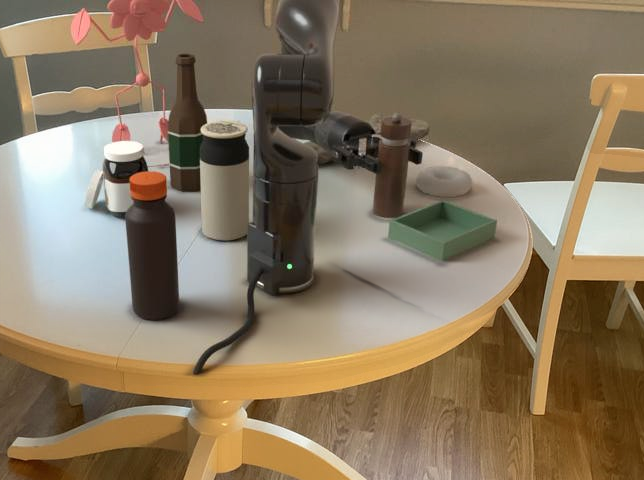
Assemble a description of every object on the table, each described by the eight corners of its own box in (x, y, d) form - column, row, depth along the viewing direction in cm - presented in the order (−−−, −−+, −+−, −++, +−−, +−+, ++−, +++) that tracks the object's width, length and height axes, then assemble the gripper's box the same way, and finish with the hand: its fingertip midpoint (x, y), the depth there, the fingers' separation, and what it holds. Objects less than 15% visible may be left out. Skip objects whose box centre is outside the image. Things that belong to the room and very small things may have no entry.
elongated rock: (275, 164, 173) (303, 182, 166) (275, 140, 170) (304, 157, 163) (408, 125, 186) (439, 140, 179) (410, 101, 183) (442, 116, 176)
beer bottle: (216, 188, 160) (214, 57, 146) (177, 195, 157) (171, 63, 144) (201, 174, 166) (197, 48, 153) (164, 180, 164) (157, 52, 150)
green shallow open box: (441, 264, 132) (444, 243, 130) (387, 240, 140) (389, 220, 138) (493, 240, 139) (497, 220, 137) (439, 218, 146) (442, 199, 144)
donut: (415, 200, 153) (472, 202, 152) (417, 182, 152) (474, 184, 150) (415, 179, 162) (469, 181, 160) (416, 162, 160) (471, 164, 158)
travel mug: (226, 246, 139) (225, 139, 129) (192, 232, 144) (188, 128, 134) (258, 230, 144) (259, 126, 134) (224, 218, 148) (222, 116, 138)
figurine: (80, 153, 177) (60, -28, 158) (195, 136, 185) (189, -39, 166) (99, 178, 165) (80, -15, 146) (221, 158, 173) (218, -27, 154)
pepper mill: (388, 223, 145) (399, 119, 135) (365, 214, 148) (374, 112, 138) (408, 215, 148) (420, 113, 138) (386, 206, 151) (396, 106, 141)
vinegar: (171, 323, 119) (164, 189, 108) (126, 317, 120) (114, 185, 109) (185, 300, 124) (179, 170, 113) (141, 295, 126) (132, 166, 115)
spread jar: (156, 217, 149) (152, 154, 143) (93, 227, 146) (86, 162, 140) (139, 193, 159) (135, 132, 152) (80, 201, 156) (73, 140, 149)
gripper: (311, 122, 148) (367, 149, 136) (377, 109, 154) (436, 134, 142) (309, 163, 152) (363, 193, 140) (374, 149, 158) (431, 176, 146)
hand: (400, 163), depth 141 cm, fingers open, 8 cm apart
